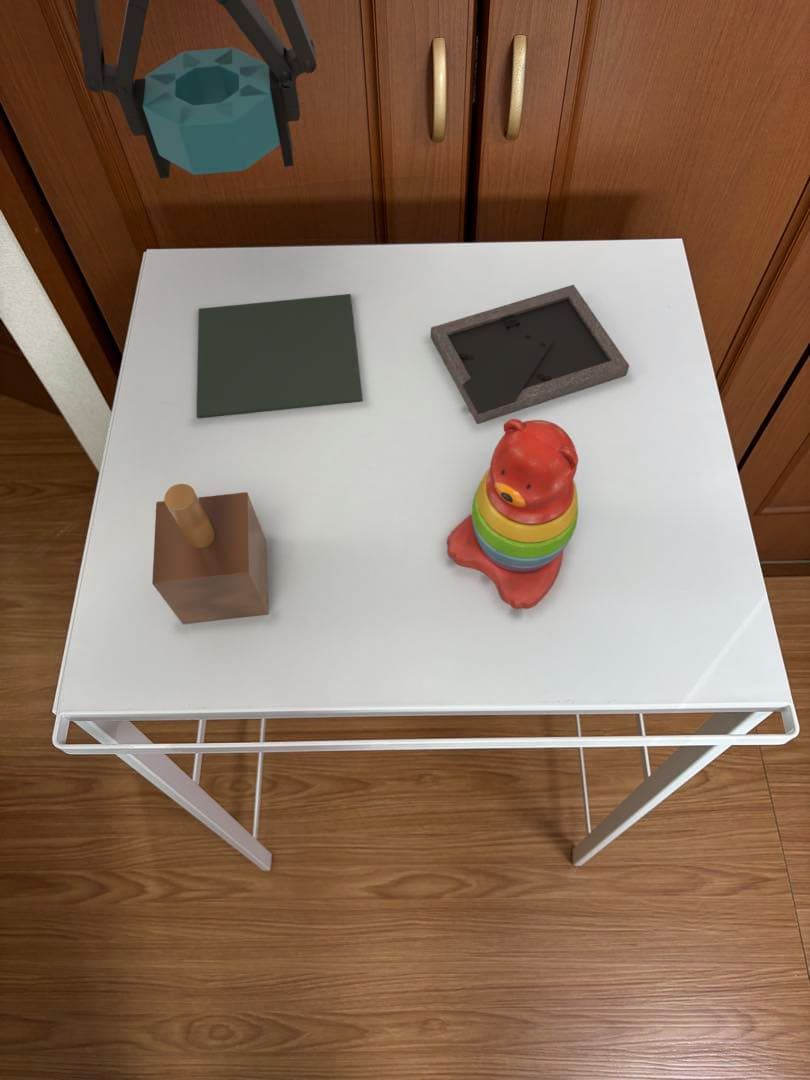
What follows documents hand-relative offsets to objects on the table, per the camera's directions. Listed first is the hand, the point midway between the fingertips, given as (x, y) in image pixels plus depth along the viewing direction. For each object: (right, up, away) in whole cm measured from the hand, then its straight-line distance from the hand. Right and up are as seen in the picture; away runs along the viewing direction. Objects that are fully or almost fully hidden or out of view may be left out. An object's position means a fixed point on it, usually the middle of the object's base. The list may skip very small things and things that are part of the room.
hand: (227, 161), depth 62 cm
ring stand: (-2, -36, +9) cm, 37 cm away
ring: (0, +1, -2) cm, 2 cm away
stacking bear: (+25, -33, +10) cm, 43 cm away
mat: (0, -10, +23) cm, 25 cm away
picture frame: (+29, -11, +22) cm, 38 cm away
